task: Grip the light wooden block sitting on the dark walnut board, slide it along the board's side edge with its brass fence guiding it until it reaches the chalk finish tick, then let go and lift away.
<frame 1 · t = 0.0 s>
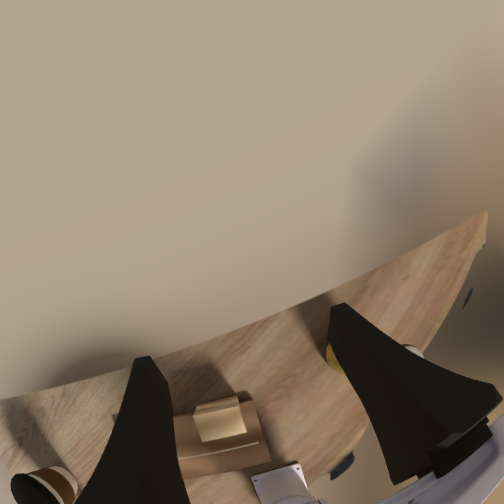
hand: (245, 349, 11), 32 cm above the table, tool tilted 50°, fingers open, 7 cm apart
light wooden block: (220, 414, 37), point 1 cm above the table, touching walnut board
coffee cup: (64, 479, 32), on the table
walnut board: (192, 444, 37), on the table
sauce bottle: (339, 352, 43), on the table
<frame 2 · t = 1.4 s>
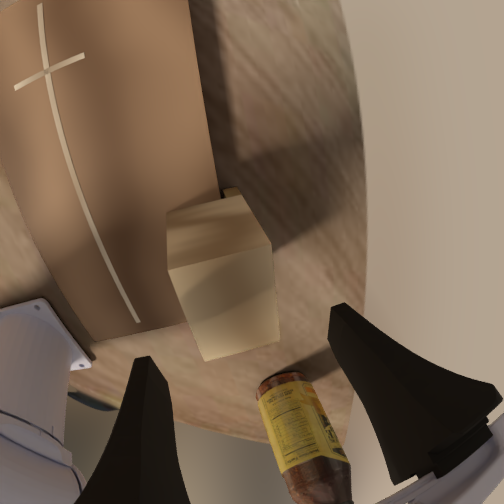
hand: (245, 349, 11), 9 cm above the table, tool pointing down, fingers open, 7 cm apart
light wooden block: (214, 250, 17), point 1 cm above the table, touching walnut board
walnut board: (107, 164, 14), on the table
sauce bottle: (279, 382, 30), on the table
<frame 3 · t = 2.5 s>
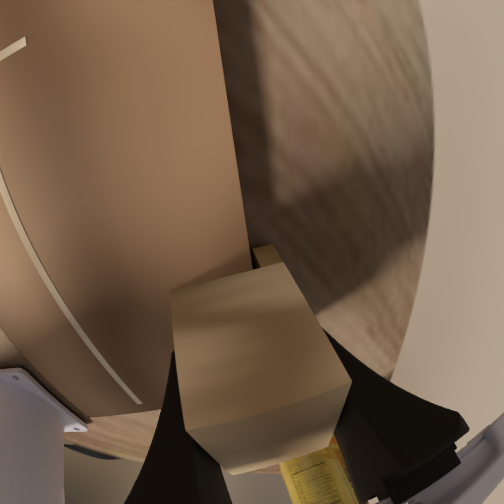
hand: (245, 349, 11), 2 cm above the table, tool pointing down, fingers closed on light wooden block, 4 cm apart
light wooden block: (239, 332, 12), point 1 cm above the table, touching gripper, walnut board
walnut board: (77, 214, 9), on the table
sauce bottle: (299, 429, 25), on the table
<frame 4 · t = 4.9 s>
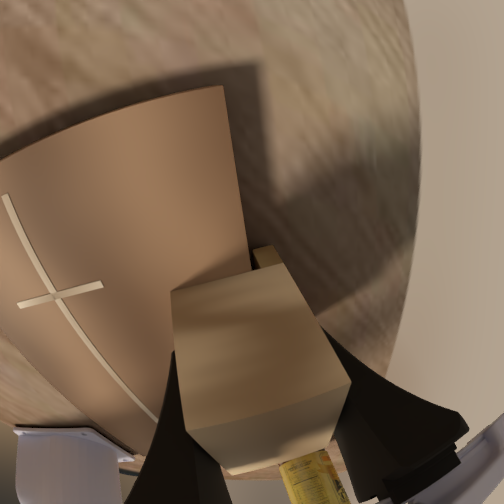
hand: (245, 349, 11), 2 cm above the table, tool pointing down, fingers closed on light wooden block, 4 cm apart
light wooden block: (239, 332, 12), point 2 cm above the table, touching gripper
walnut board: (150, 356, 13), on the table
sauce bottle: (298, 448, 30), on the table
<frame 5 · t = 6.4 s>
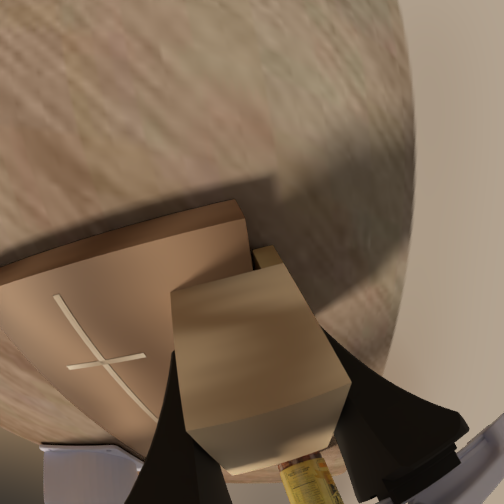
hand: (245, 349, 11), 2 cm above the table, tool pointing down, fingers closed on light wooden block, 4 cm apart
light wooden block: (240, 333, 12), point 2 cm above the table, touching gripper, walnut board
walnut board: (175, 392, 16), on the table
sauce bottle: (297, 455, 32), on the table
when the fingers open (2 cm above the table, at t = 7.3 s): light wooden block stays where it is, resting on walnut board.
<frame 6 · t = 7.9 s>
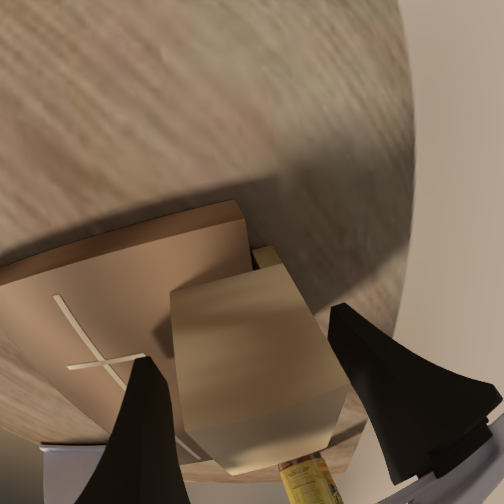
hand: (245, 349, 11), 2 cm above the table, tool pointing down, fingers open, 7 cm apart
light wooden block: (239, 333, 12), point 1 cm above the table, touching walnut board
walnut board: (175, 392, 16), on the table
sauce bottle: (297, 455, 32), on the table
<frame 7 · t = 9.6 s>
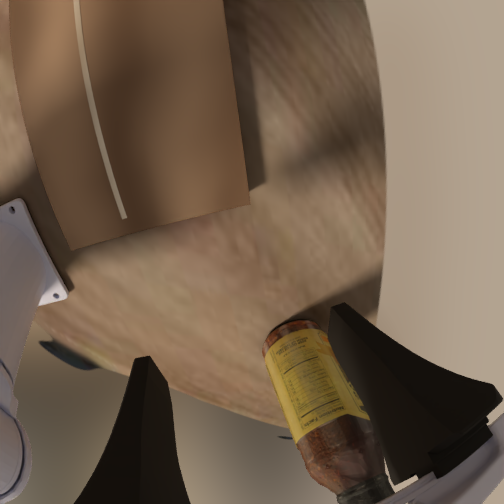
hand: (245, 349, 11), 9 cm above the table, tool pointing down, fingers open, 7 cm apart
walnut board: (115, 35, 11), on the table
sauce bottle: (290, 335, 27), on the table
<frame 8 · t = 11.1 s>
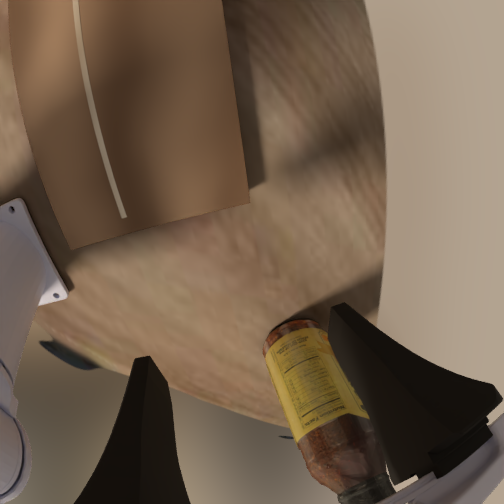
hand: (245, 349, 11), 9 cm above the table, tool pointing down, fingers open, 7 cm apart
walnut board: (114, 35, 10), on the table
sauce bottle: (290, 335, 27), on the table
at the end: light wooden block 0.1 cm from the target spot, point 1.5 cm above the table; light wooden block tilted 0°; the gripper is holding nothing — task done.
